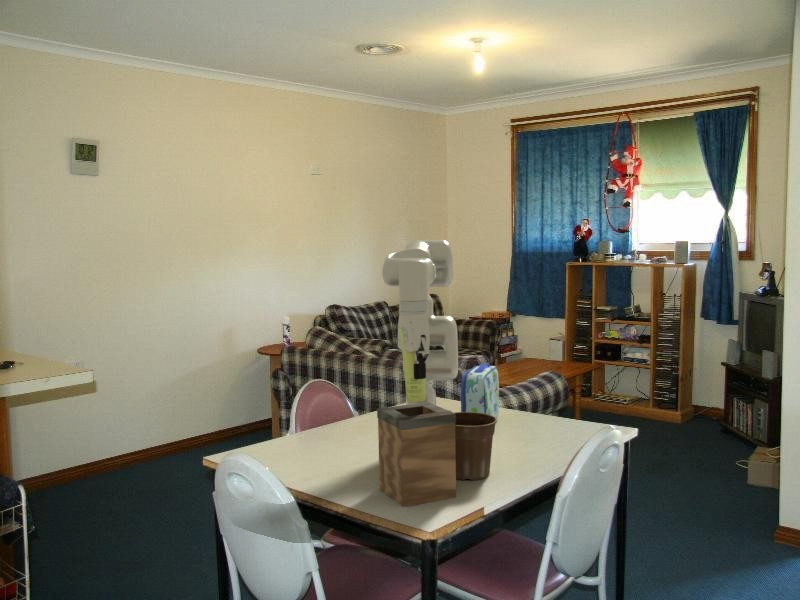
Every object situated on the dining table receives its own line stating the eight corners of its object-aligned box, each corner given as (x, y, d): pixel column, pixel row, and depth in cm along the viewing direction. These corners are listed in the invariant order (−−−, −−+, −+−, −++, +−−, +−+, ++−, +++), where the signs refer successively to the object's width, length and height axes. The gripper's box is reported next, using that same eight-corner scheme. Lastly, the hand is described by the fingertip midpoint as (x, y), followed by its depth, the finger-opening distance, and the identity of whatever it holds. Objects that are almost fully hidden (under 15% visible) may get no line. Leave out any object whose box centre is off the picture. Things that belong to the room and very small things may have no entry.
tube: (410, 404, 189) (408, 328, 187) (400, 400, 193) (398, 326, 192) (429, 401, 192) (427, 326, 190) (418, 397, 196) (416, 324, 195)
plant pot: (508, 472, 210) (508, 416, 209) (475, 487, 198) (474, 428, 197) (463, 462, 221) (462, 409, 220) (428, 475, 209) (427, 419, 208)
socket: (378, 489, 199) (377, 408, 197) (429, 480, 205) (427, 402, 203) (403, 507, 185) (402, 420, 183) (456, 497, 191) (455, 413, 190)
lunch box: (473, 414, 280) (472, 359, 279) (501, 416, 277) (501, 360, 275) (457, 432, 256) (456, 372, 254) (488, 434, 252) (487, 373, 251)
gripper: (386, 305, 197) (388, 373, 198) (415, 310, 181) (416, 383, 183) (412, 304, 200) (413, 371, 201) (442, 308, 185) (443, 380, 186)
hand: (415, 376), depth 192 cm, fingers closed on tube, 4 cm apart
